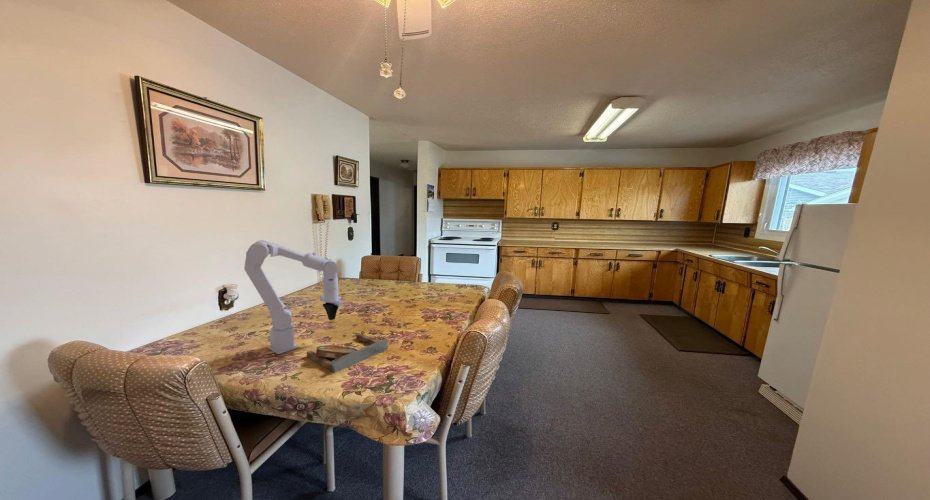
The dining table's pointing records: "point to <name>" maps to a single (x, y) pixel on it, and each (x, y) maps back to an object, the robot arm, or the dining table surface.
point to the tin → (333, 351)
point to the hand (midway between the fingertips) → (331, 319)
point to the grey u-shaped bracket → (351, 354)
